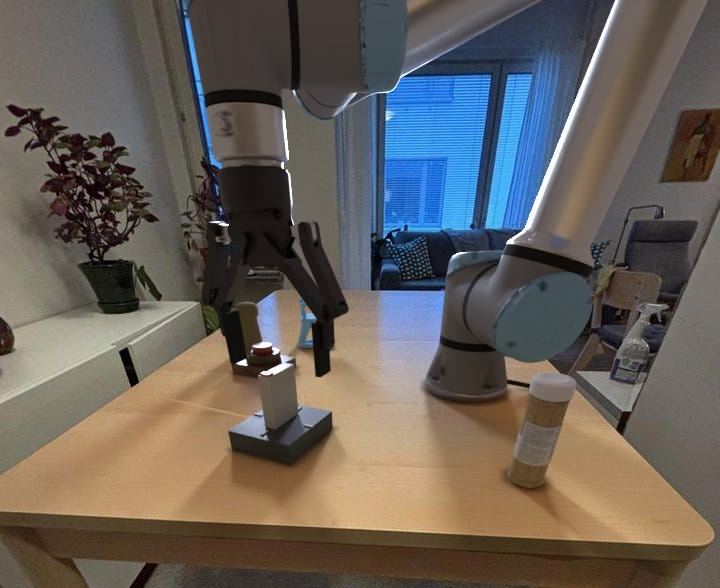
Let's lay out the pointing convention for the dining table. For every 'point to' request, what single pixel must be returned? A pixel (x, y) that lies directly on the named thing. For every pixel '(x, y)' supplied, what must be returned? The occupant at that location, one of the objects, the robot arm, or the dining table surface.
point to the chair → (305, 326)
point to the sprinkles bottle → (540, 427)
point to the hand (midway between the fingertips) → (279, 367)
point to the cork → (249, 323)
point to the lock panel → (281, 435)
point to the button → (262, 348)
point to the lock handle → (278, 395)
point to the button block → (261, 363)
